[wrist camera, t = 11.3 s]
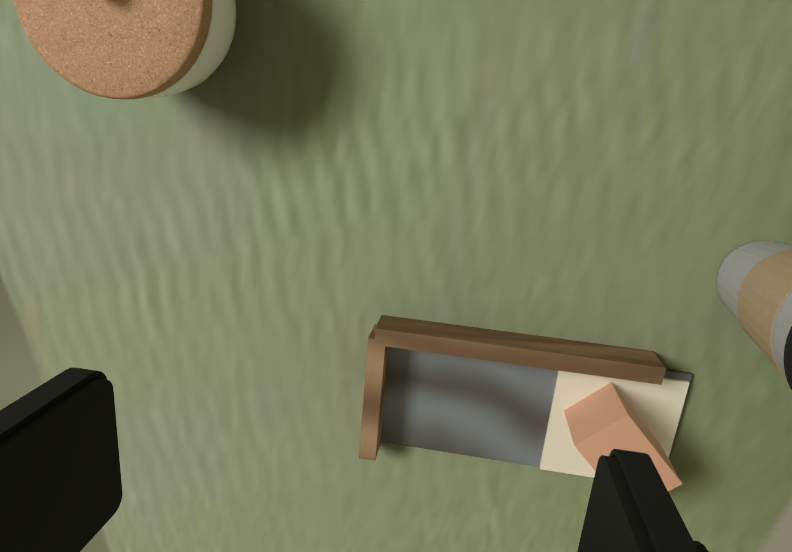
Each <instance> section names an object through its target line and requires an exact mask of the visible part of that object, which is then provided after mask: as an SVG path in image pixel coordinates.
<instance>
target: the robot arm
mask: <svg viewBox="0 0 792 552" xmlns="http://www.w3.org/2000/svg"><path fill="white" fill-rule="evenodd" d="M121 499H122V484H121V473H120V461H119V450H118V438H117V427H116V415H115V404H114V392H113V386H112V383H111V382H110V381H109V380H107V378H106V376H105V374H104V373H102V372H101V371H94V370H88V369H81V368H69V369H67V370H65V371H63V372H62V373H60V374H59V375H57V376H55V377H54V378H52V379H50V380H49V381H47V382H46V383H44V384H42V385H41V386H39V387H37V388H36V389H34V390H33V391H31V392H29V393H28V394H26V395H25V396H23V397H21V398H20V399H18V400H16V401H15V402H13V403H12V404H10V405H8V406H7V407H5V408H3V409H2V410H0V552H80V551H81V550H82V549H83V548H84V546H85V545H86V544H87V543H88V542H89V541H90V540H91V539H92V538H93V537H94V535H95V534H96V533H97V532H98V531H99V530H100V529H101V528H102V527H103V526H104V525H105V524H106V523H107V521H108V520H109V519H110V518H111V517H112V516H113V515H114V514H115V512H116V511H117V509H118V507H119V505H120V502H121ZM577 552H708V550H707V549H706V547H705V546H704V545H703V544H701V543H700V542H698V541H693V540H692V538H691V536H690V534H689V532H688V530H687V528H686V526H685V524H684V522H683V520H682V518H681V516H680V514H679V512H678V510H677V508H676V506H675V504H674V502H673V500H672V498H671V496H670V494H669V493H668V491H667V489H666V487H665V485H664V483H663V481H662V479H661V477H660V475H659V473H658V471H657V469H656V467H655V465H654V463H653V461H652V459H651V457H650V456H649V455H648V454H646V453H641V452H634V451H627V450H621V449H613V450H612V451H611V453H610V455H609V456H604V455H601V456H600V457H599V460H598V463H597V467H596V472H595V476H594V481H593V485H592V489H591V494H590V498H589V503H588V507H587V512H586V516H585V520H584V525H583V529H582V534H581V538H580V543H579V547H578V551H577Z"/></svg>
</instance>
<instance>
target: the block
mask: <svg viewBox="0 0 792 552" xmlns="http://www.w3.org/2000/svg"><path fill="white" fill-rule="evenodd" d="M564 413H565V416H566V420H567V423H568V426H569V430H570V433H571V436H572V440H573V443H574V446H575V447H576V448H577V449H578V451H579V452H580V453H581V454H582V456H583V457H584V458H585V459H586V461H587V462H588V463H589V464H590V465H591V467H592V468H593V469H594V470H595V472H596V467H597V463H598V460H599V457H600V456H601V455H604V456H609V455H610V453H611V451H612V450H613V449H621V450H627V451H634V452H641V453H646V454H648V455H649V456H650V457H651V459H652V461H653V463H654V465H655V467H656V469H657V471H658V473H659V475H660V477H661V479H662V481H663V483H664V485H665V487H666V489H667V491H670V490H672V489H674V488H676V487H678V486H680V485H682V482H681V480H680V478H679V477H678V475H677V473H676V471H675V470H674V468H673V466H672V464H671V462H670V461H669V459H668V457H667V455H666V453H665V452H664V450H663V448H662V446H661V445H660V443H659V442H658V441H657V440H656V438H655V437H654V436H653V434H652V433H651V432H650V431H649V429H648V428H647V427H646V426H645V424H644V423H643V422H642V420H641V419H640V418H639V417H638V415H637V414H636V413H635V412H634V410H633V409H632V408H631V406H630V405H629V404H628V403H627V401H626V400H625V399H624V398H623V396H622V395H621V394H620V392H619V391H618V390H617V389H616V387H615V386H614V385H613V384H612V382H610V383H609V384H607V385H605V386H604V387H602V388H600V389H599V390H597V391H595V392H594V393H592V394H590V395H589V396H587V397H585V398H584V399H582V400H580V401H579V402H577V403H575V404H574V405H572V406H570V407H569V408H567V409H565V410H564Z"/></svg>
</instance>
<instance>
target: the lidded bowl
mask: <svg viewBox="0 0 792 552" xmlns="http://www.w3.org/2000/svg"><path fill="white" fill-rule="evenodd" d="M13 1H14V4H15V7H16V10H17V13H18V16H19V19H20V21H21V23H22V25H23V28H24V30H25V32H26V34H27V36H28V37H29V39H30V41H31V42H32V44H33V45H34V47H35V49H36V50H37V51H38V53H39V54H40V55H41V56H42V58H43V59H44V60H45V61H46V63H47V64H48V65H49V66H50V67H51V68H52V69H54V70H55V71H56V72H57V73H58V74H59V75H60V76H61V77H63V78H64V79H65V80H67V81H68V82H70V83H71V84H73V85H74V86H76V87H78V88H80V89H82V90H84V91H86V92H89V93H92V94H94V95H97V96H101V97H107V98H112V99H139V98H155V97H162V96H167V95H173V94H178V93H180V92H183V91H185V90H188V89H190V88H193V87H195V86H197V85H198V84H200V83H201V82H203V81H205V80H206V79H207V78H208V77H209V76H210V75H211V74H212V73H214V71H215V70H216V69H217V68H218V66H219V65H220V64H221V63H222V61H223V60H224V58H225V56H226V54H227V53H228V51H229V48H230V46H231V43H232V40H233V36H234V31H235V26H236V2H235V0H13Z"/></svg>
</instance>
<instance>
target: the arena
mask: <svg viewBox="0 0 792 552" xmlns="http://www.w3.org/2000/svg"><path fill="white" fill-rule="evenodd" d="M558 371H565V372H573V373H580V374H587V375H594V376H601V377H608V378H616V379H623V380H630V381H637V382H644V383H651V384H658V385H662V382H663V378H670V379H677V380H684V381H689V386H690V382H691V379H692V375H693V374H692V373H688V372H681V371H674V370H666V367H665V366H664V365H663V363H662V362H661V361H660V359H659V358H658V357H657V355H656V354H655V353H654V351H647V350H640V349H632V348H625V347H617V346H610V345H602V344H595V343H587V342H579V341H572V340H564V339H557V338H549V337H542V336H534V335H527V334H519V333H512V332H504V331H497V330H489V329H482V328H474V327H467V326H459V325H452V324H444V323H437V322H429V321H422V320H414V319H407V318H399V317H392V316H384V315H381V318H380V320H379V322H378V324H375V325H374V327H373V329H372V331H371V334H370V336H369V338H368V348H367V361H366V374H365V388H364V401H363V414H362V427H361V440H360V454H359V458H362V459H368V460H374V461H375V460H376V456H377V453H378V449H379V446H380V443H381V442H387V443H394V444H400V445H406V446H412V447H418V448H425V449H431V450H437V451H443V452H450V453H456V454H462V455H468V456H475V457H481V458H487V459H493V460H500V461H506V462H512V463H518V464H525V465H531V466H537V467H540V463H541V458H542V452H543V447H544V442H545V437H546V432H547V427H548V422H549V416H550V411H551V406H552V401H553V396H554V391H555V386H556V380H557V375H558ZM688 390H689V387H688ZM688 390H687V393H688ZM686 397H687V394H686ZM685 400H686V398H685ZM684 404H685V401H684ZM683 408H684V405H683ZM683 408H682V411H683ZM681 415H682V412H681ZM680 418H681V416H680ZM679 422H680V419H679ZM678 426H679V423H678ZM678 426H677V429H678ZM676 433H677V430H676ZM675 436H676V434H675ZM674 440H675V437H674ZM673 444H674V441H673ZM673 444H672V447H673ZM671 451H672V448H671ZM670 454H671V452H670ZM669 458H670V455H669Z"/></svg>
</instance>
